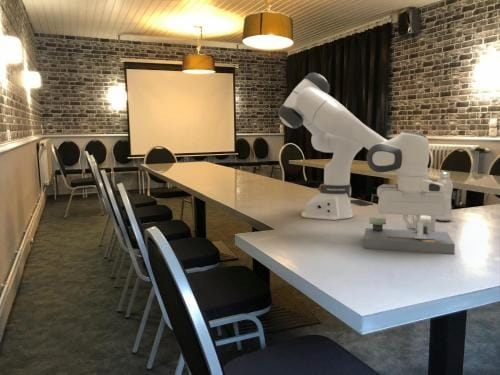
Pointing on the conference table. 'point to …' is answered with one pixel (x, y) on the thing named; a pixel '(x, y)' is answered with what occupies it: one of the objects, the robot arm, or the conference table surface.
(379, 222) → the sage button
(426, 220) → the cream button
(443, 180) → the plastic bottle
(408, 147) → the robot arm
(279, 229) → the conference table surface
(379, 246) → the control panel
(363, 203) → the phone
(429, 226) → the can
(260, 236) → the conference table surface
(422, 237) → the paddle lever
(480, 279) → the conference table surface
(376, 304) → the conference table surface
